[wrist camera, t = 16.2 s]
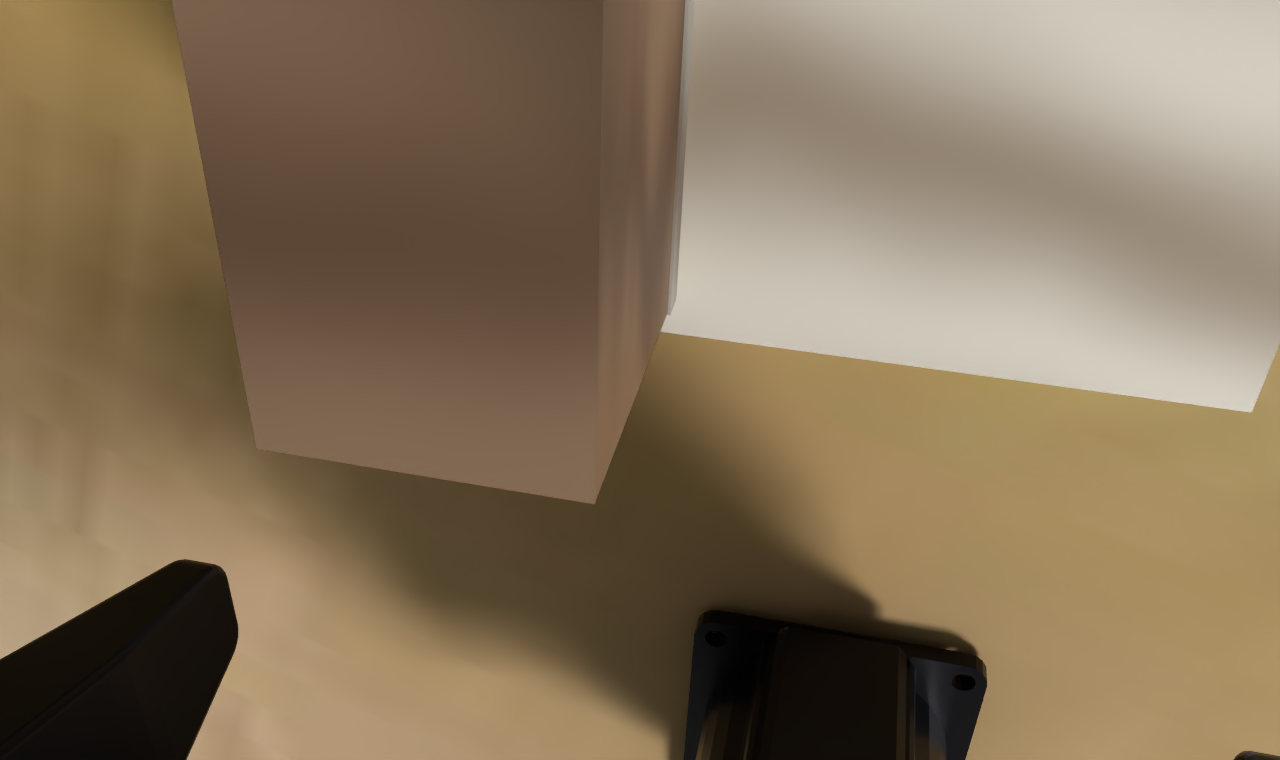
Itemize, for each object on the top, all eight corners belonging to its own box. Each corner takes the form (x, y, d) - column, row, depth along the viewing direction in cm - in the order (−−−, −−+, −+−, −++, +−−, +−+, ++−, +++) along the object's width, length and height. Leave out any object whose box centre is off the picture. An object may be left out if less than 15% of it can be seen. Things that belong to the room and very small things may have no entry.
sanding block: (676, 299, 20) (598, 507, 16) (409, 263, 21) (254, 451, 16) (702, -125, 16) (608, -26, 12) (373, -150, 17) (154, -68, 12)
